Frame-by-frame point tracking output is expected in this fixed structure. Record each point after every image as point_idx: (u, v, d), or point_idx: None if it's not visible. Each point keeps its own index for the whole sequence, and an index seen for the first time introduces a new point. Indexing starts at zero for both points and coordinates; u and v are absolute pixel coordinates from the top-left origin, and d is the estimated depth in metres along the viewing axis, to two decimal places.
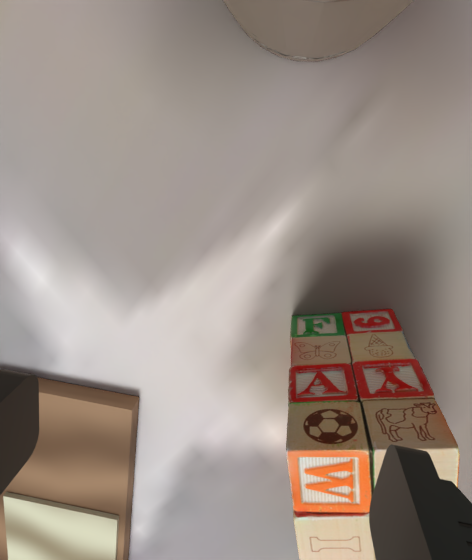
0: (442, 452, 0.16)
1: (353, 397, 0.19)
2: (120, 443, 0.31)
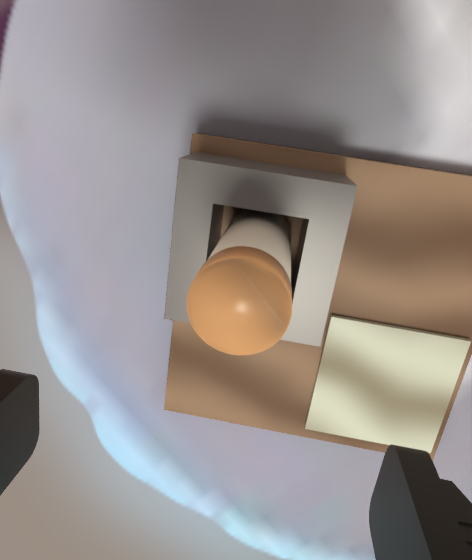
0: None
1: None
2: None
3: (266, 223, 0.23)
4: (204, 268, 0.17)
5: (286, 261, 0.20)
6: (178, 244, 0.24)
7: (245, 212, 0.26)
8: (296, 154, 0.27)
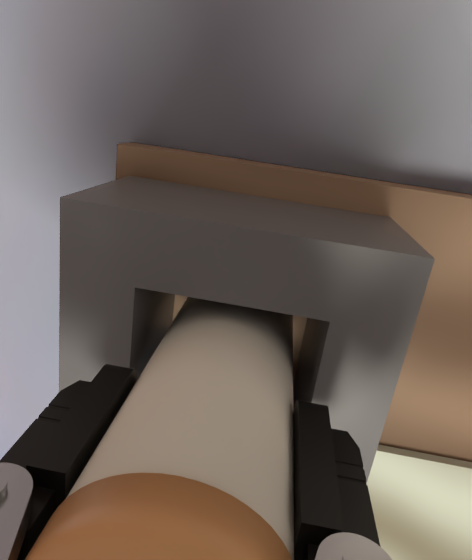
0: None
1: None
2: None
3: (242, 329, 0.11)
4: None
5: (283, 461, 0.08)
6: (73, 361, 0.12)
7: None
8: (301, 179, 0.15)
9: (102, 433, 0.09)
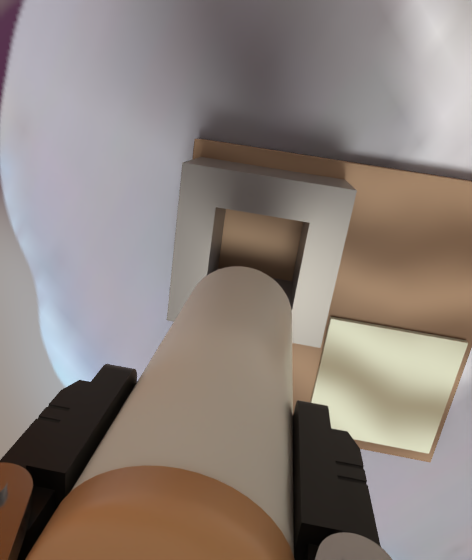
0: None
1: None
2: None
3: (242, 329, 0.11)
4: None
5: (282, 456, 0.08)
6: (181, 247, 0.25)
7: (209, 289, 0.14)
8: (296, 159, 0.27)
9: (102, 433, 0.09)
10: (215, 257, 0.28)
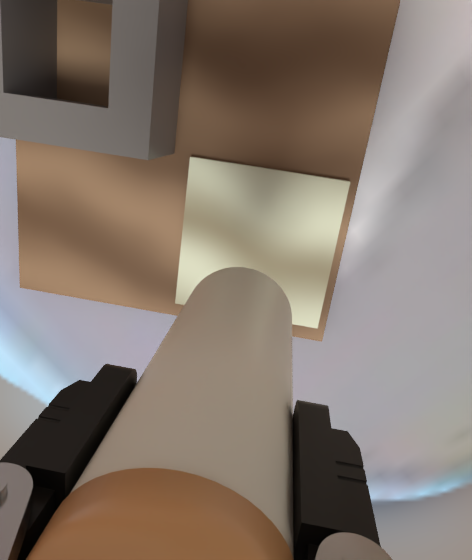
0: None
1: None
2: (376, 42, 0.23)
3: (242, 330, 0.11)
4: None
5: (282, 458, 0.08)
6: None
7: (208, 290, 0.14)
8: None
9: (102, 433, 0.09)
10: (36, 67, 0.23)
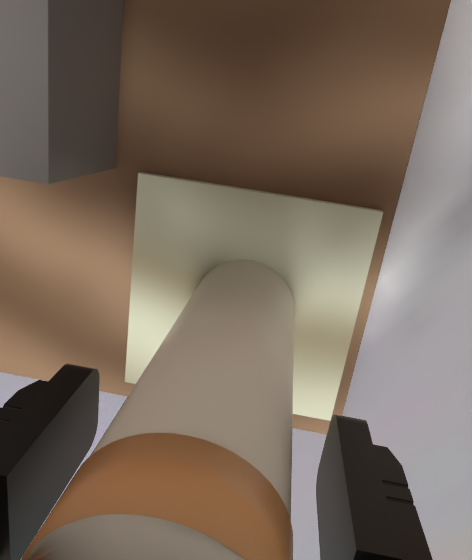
0: None
1: None
2: None
3: (246, 317, 0.12)
4: (49, 529, 0.06)
5: (281, 431, 0.09)
6: None
7: (215, 281, 0.15)
8: None
9: (55, 434, 0.09)
10: None
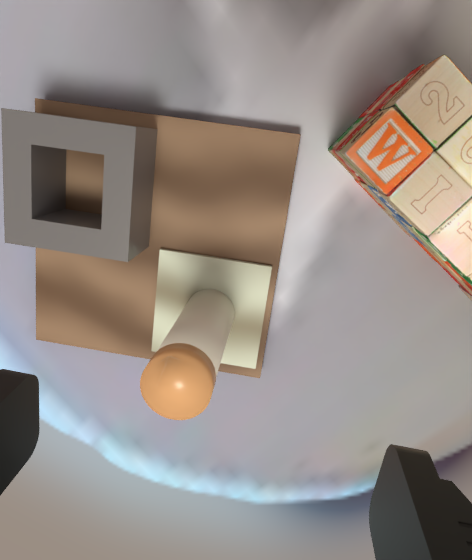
0: (437, 66, 0.21)
1: (376, 112, 0.25)
2: (284, 176, 0.33)
3: (206, 313, 0.31)
4: (151, 362, 0.25)
5: (215, 348, 0.28)
6: (9, 179, 0.30)
7: (195, 299, 0.34)
8: (117, 112, 0.33)
9: None
10: (52, 194, 0.33)
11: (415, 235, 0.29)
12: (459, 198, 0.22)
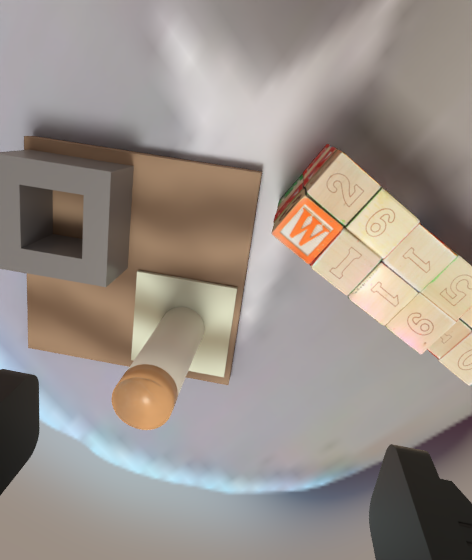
0: (337, 161, 0.25)
1: (300, 189, 0.29)
2: (246, 209, 0.37)
3: (175, 333, 0.35)
4: (120, 381, 0.29)
5: (178, 367, 0.32)
6: (0, 214, 0.34)
7: (167, 317, 0.38)
8: (97, 150, 0.37)
9: None
10: (40, 223, 0.37)
11: None
12: (368, 264, 0.27)
